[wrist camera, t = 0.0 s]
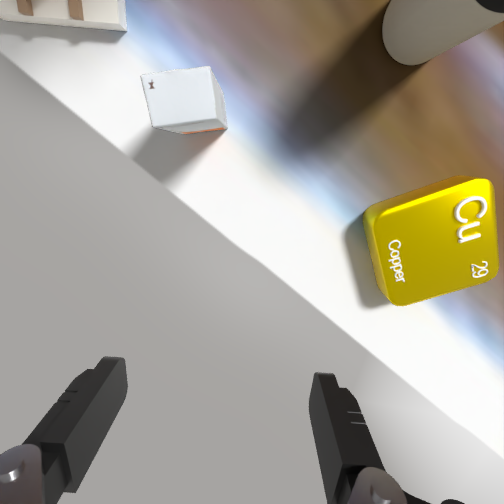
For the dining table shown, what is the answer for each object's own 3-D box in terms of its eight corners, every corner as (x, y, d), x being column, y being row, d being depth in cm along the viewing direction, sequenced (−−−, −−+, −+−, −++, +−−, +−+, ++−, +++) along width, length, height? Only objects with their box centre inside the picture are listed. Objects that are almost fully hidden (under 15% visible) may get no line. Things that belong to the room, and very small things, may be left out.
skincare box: (183, 135, 35) (149, 128, 24) (176, 98, 34) (137, 72, 23) (230, 130, 35) (217, 120, 24) (225, 92, 34) (209, 62, 22)
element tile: (358, 208, 39) (371, 216, 34) (468, 170, 37) (498, 172, 32) (379, 296, 44) (393, 312, 39) (477, 266, 42) (504, 280, 37)
